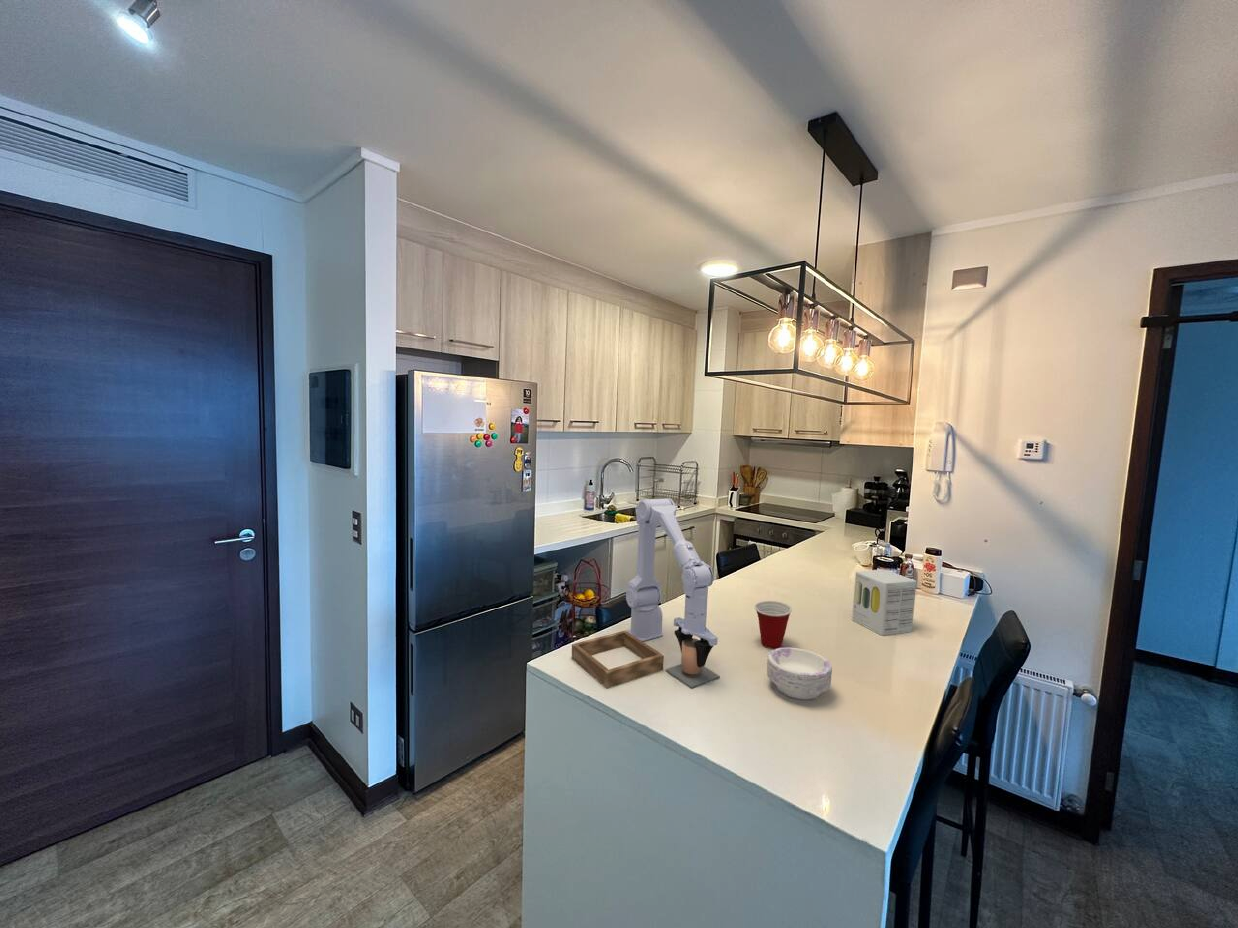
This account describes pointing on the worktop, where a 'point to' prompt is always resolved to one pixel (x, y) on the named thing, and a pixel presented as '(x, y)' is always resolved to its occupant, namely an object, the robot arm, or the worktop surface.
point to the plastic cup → (772, 622)
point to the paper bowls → (799, 672)
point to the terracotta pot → (689, 657)
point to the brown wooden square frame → (621, 674)
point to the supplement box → (884, 601)
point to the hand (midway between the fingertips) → (693, 661)
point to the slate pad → (693, 676)
